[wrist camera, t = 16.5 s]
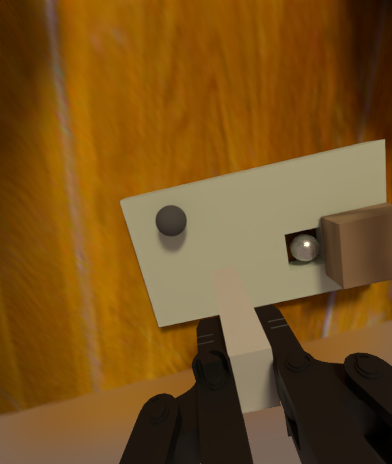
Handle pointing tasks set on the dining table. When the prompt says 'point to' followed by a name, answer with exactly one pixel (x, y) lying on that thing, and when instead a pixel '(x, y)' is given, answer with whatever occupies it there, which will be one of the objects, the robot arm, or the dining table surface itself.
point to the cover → (358, 245)
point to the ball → (304, 247)
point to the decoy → (171, 220)
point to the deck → (249, 229)
